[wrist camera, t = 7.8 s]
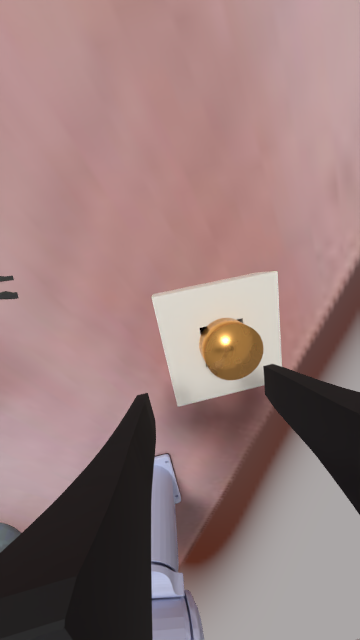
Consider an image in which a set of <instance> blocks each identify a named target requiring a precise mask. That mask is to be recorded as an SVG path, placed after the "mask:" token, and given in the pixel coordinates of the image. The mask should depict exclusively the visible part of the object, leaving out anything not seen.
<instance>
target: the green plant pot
mask: <svg viewBox="0 0 360 640" xmlns="http://www.w3.org/2000/svg"><path fill="white" fill-rule="evenodd" d="M19 535H20V532H19V531H18V530H17V529H15V528H14V527H12V526H10V525H7V524H4V523H0V552H1V551H3V550H4V549H5V548H6V547H7V546H8V545H9V544H10V543H11V542H13V541H14V540H15V539H16V538H17V537H18V536H19Z"/></svg>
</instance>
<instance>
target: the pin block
mask: <svg viewBox="0 0 360 640" xmlns="http://www.w3.org/2000/svg"><path fill="white" fill-rule="evenodd" d="M152 301H153V306H154V310H155V314H156V318H157V322H158V326H159V331H160V335H161V339H162V343H163V347H164V351H165V356H166V360H167V364H168V368H169V372H170V376H171V381H172V385H173V389H174V393H175V397H176V401H177V406H178V407H179V406H183V405H187V404H191V403H195V402H199V401H203V400H207V399H211V398H215V397H219V396H223V395H227V394H231V393H235V392H239V391H243V390H247V389H251V388H255V387H259V386H263V385H264V370H263V366H266V365H270V364H275V365H278V366H281V367H282V361H281V339H280V317H279V295H278V273H277V271H272V272H258V273H252V274H248V275H243V276H238V277H233V278H228V279H224V280H219V281H214V282H209V283H204V284H200V285H195V286H190V287H185V288H180V289H175V290H171V291H166V292H161V293H156V294H153V296H152ZM221 318H233V319H236V320H238V321H240V322H242V323H243V324H245V325H247V326H249V327H251V328H253V329H254V330H255V331H256V332H257V333H258V334H259V335H260V337H261V339H262V342H263V348H264V350H263V356H262V359H261V361H260V363H259V365H258V366H257V368H256V369H255V370H254V371H253V372H252V373H250V374H249V375H247V376H246V377H244V378H241V379H238V380H224V379H221V378H219V377H217V376H215V375H214V374H213V373H212V372H211V371H210V369H209V368H208V366H207V364H206V362H205V360H204V359H203V357H202V355H201V353H200V349H199V340H200V336H201V334H200V328H201V327H206V326H208V325H209V324H210V323H211V322H213V321H215V320H217V319H221Z"/></svg>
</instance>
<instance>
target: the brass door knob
mask: <svg viewBox="0 0 360 640" xmlns="http://www.w3.org/2000/svg"><path fill="white" fill-rule="evenodd" d="M199 349H200V353H201V355H202V357H203V359H204V360H205V362H206V364H207V366H208V368H209V369H210V371H211V372H212V373H213V374H214V375H215V376H217V377H219V378H221V379H224V380H238V379H241V378H244V377H246V376H247V375H249V374H250V373H252V372H253V371H254V370H255V369H256V368H257V366H258V365H259V363H260V361H261V359H262V356H263V350H264V348H263V342H262V339H261V337H260V335H259V334H258V333H257V332H256V331H255V330H254V329H253V328H251V327H249V326H247V325H245V324H243V323H242V322H240V321H238V320H236V319H233V318H221V319H217V320H215V321H213V322H211V323H210V324H209V325H208V326H206V327H203V329H202V334H201V336H200V340H199Z"/></svg>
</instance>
